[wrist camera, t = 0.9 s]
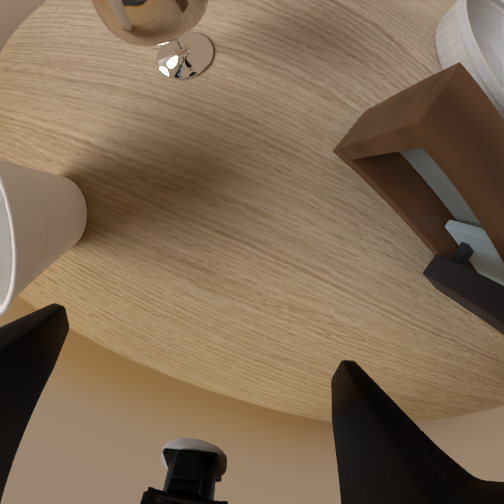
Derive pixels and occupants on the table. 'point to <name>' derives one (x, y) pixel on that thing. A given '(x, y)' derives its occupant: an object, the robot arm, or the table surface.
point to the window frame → (435, 158)
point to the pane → (471, 274)
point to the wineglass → (161, 31)
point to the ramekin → (475, 44)
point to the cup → (34, 225)
